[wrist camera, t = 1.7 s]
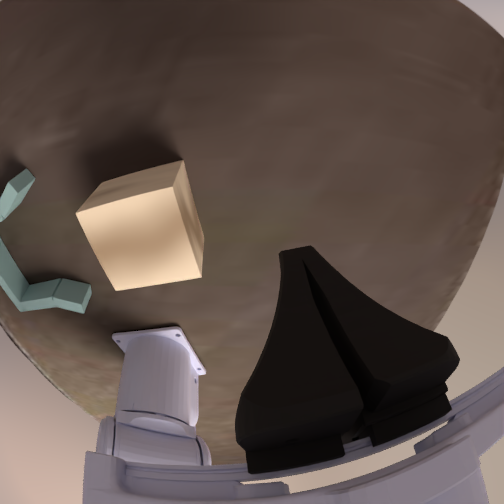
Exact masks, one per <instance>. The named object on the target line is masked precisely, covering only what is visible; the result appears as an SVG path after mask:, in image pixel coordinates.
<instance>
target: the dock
mask: <svg viewBox="0 0 504 504" xmlns="http://www.w3.org/2000/svg"><path fill="white" fill-rule="evenodd" d="M34 180H35V177H34V176H33V175H32V174H31V173H30V172H29V171H28V169H27V168H26V169H25V170H24V171H22V172H21V173H20V174H18V175H17V176H16V177H14V178H13V179H12V180H10V181H9V182H8V184H7V186H6V188H5V190H4V192H3V194H2V196H1V198H0V222H1V221H3V220H4V219H5V218H6V217H7V216H8V215H9V214H10V213H11V212H12V211H13V210H14V209H15V208H16V207H17V206H18V205H19V204H20V203H21V202H22V200H23V199H24V197H25V195H26V193H27V192H28V190H29V188H30V187H31V185H32V183H33V182H34ZM0 285H1V287H2V288H3V289H4V291H5V292H6V294H7V295H8V296H9V298H10V299H11V300H12V302H13V303H14V304H15V306H16V307H17V308H18V309H19V311H20V312H22V311H30V310H38V309H46V308H53V307H59V308H63V309H67V310H71V311H75V312H79V313H83V314H84V312H85V310H86V307H87V304H88V302H89V299H90V297H91V294H92V292H91V285H90V284H86V283H82V282H77V281H73V280H68V279H64V278H63V279H61V278H59V279H55V280H50V281H46V282H41V283H37V284H32V285H29V283H28V282H27V280H26V279H25V277H24V276H23V274H22V273H21V271H20V270H19V268H18V267H17V265H16V263H15V262H14V260H13V258H12V257H11V255H10V253H9V252H8V250H7V248H6V247H5V245H4V243H3V241H2V239H1V238H0Z"/></svg>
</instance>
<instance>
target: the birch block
mask: <svg viewBox="0 0 504 504" xmlns="http://www.w3.org/2000/svg"><path fill="white" fill-rule="evenodd" d="M76 215H77V218H78V220H79V222H80V224H81V226H82V228H83V230H84V232H85V234H86V237H87V239H88V241H89V243H90V245H91V247H92V248H93V250H94V252H95V254H96V256H97V258H98V260H99V262H100V264H101V265H102V267H103V269H104V271H105V273H106V274H107V276H108V278H109V280H110V281H111V283H112V285H113V287H114V288H115V290H116V291H119V290H125V289H132V288H138V287H145V286H151V285H157V284H164V283H170V282H176V281H182V280H188V279H194V278H200V277H201V276H202V259H203V244H204V236H203V232H202V229H201V225H200V221H199V218H198V214H197V211H196V207H195V203H194V200H193V196H192V192H191V188H190V185H189V181H188V177H187V173H186V169H185V165H184V161H183V160H181V161H177V162H173V163H168V164H164V165H160V166H157V167H153V168H149V169H145V170H142V171H138V172H134V173H131V174H128V175H124V176H121V177H118V178H114V179H111V180H108V181H105V182H102V183H101V184H100V185H99V186H98V187H97V188H96V189H95V191H94V192H93V193H92V194H91V195H90V196H89V198H88V199H87V200H86V201H85V202H84V203H83V205H82V206H81V207H80V208H79V209H78V211H77V212H76Z"/></svg>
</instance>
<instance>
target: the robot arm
mask: <svg viewBox="0 0 504 504" xmlns="http://www.w3.org/2000/svg"><path fill="white" fill-rule="evenodd" d="M279 260H280V268H281V281H280V291H279V297H278V302H277V307H276V312H275V316H274V320H273V323H272V327H271V330H270V333H269V336H268V339H267V341H266V344H265V347H264V349H263V351H262V354H261V356H260V358H259V360H258V363H257V365H256V367H255V369H254V371H253V373H252V375H251V377H250V379H249V381H248V382H247V384H246V386H245V388H244V389H243V391H242V393H241V397H240V401H239V404H238V409H237V413H236V419H235V432H236V441H237V443H238V444H239V445H240V446H241V447H242V448H243V449H244V450H245V451H246V460H247V463H241V464H227V465H211V455H210V451H209V448H208V446H207V445H206V443H205V441H204V440H203V439H202V437H200V436H198V435H196V427H194V426H195V425H196V423H197V420H198V414H199V413H198V375H204V374H206V370H205V368H204V367H203V365H202V363H201V362H200V360H199V358H198V357H197V355H196V353H195V352H194V350H193V348H192V347H191V345H190V343H189V342H188V340H187V338H186V337H185V335H184V333H183V331H182V330H181V328H180V327H177V326H175V327H167V328H159V329H150V330H141V331H132V332H122V333H114V334H113V335H112V339H113V340H114V341H115V342H116V343H117V345H118V346H119V347H120V348H121V349H122V351H123V352H124V353H125V357H124V362H123V367H122V373H121V378H120V384H119V390H118V397H117V404H116V411H115V415H114V417H111V416H106V418H104V419H102V420H101V422H100V427H99V432H98V438H97V447H96V452H90V451H87V452H86V456H85V466H84V480H83V481H84V482H83V504H489V501H488V496H487V493H486V489H485V484H484V480H483V476H482V473H481V470H480V460H479V457H480V456H481V455H482V454H484V453H485V452H486V451H487V450H488V449H490V448H491V447H492V446H493V445H494V444H495V443H496V442H497V441H499V439H501V438H502V437H503V436H504V367H503V368H501V369H500V370H499V371H497V372H496V373H494V374H493V375H491V376H490V377H489V378H487V379H486V380H484V381H483V382H481V383H480V384H478V385H476V386H475V387H473V388H472V389H470V390H468V391H467V392H465V393H463V394H461V395H460V396H458V397H456V398H455V399H453V400H451V401H449V400H448V398H447V396H446V394H445V393H446V392H447V391H448V388H447V385H446V383H445V381H446V380H447V379H448V378H449V377H450V375H451V374H452V373H453V372H454V371H455V369H456V367H457V366H458V364H459V361H460V358H459V356H458V354H457V352H456V350H455V348H454V347H453V345H452V343H451V342H450V340H449V339H448V337H446V336H443V335H441V334H438V333H436V332H433V331H431V330H428V329H425V328H423V327H421V326H419V325H417V324H414V323H412V322H410V321H408V320H406V319H404V318H402V317H401V316H399V315H397V314H395V313H393V312H392V311H390V310H388V309H386V308H385V307H383V306H382V305H380V304H378V303H377V302H375V301H374V300H373V299H371V298H370V297H368V296H367V295H366V294H364V293H363V292H362V291H360V290H359V289H358V288H356V287H355V286H354V285H353V284H351V283H350V282H349V281H348V280H347V279H346V278H344V277H343V276H342V275H341V274H340V273H339V272H338V271H337V270H336V269H334V268H333V267H332V266H331V265H330V264H329V263H328V262H327V261H326V260H325V259H324V258H323V257H322V256H321V255H320V254H319V253H318V252H317V251H316V250H315V249H314V248H313V247H312V246H305V247H300V248H295V249H290V250H285V251H281V252H280V253H279ZM448 420H449V421H448ZM446 421H448V423H447V424H446V425H445V426H443V427H442V428H440V429H438V430H436V431H434V432H433V433H432V434H431V435H429V436H428V437H426V438H425V439H423V440H422V441H420V442H418V443H417V444H415V445H414V449H415V452H416V455H414V456H411V457H409V458H407V459H405V460H402V461H400V462H398V463H395V464H393V465H390V466H388V467H385V468H383V469H380V470H377V471H375V472H372V473H369V474H366V475H363V476H360V477H357V478H354V479H351V480H347V481H344V482H340V483H337V484H333V485H329V486H325V487H321V488H317V489H312V490H307V491H302V492H297V493H292V494H290V492H289V487H288V485H287V484H284V483H283V482H271V483H258V484H245V485H244V484H242V483H240V482H246V481H256V480H265V479H273V478H280V477H286V476H292V475H297V474H303V473H307V472H312V471H317V470H321V469H325V468H329V467H333V466H337V465H340V464H344V463H347V462H351V461H354V460H357V459H360V458H363V457H366V456H369V455H372V454H375V453H378V452H381V451H383V450H386V449H388V448H391V447H393V446H396V445H398V444H401V443H403V442H405V441H408V440H410V439H412V438H414V437H416V436H418V435H421V434H422V433H425V432H427V431H429V430H431V429H433V428H435V427H437V426H439V425H440V424H442V423H444V422H446Z"/></svg>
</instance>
